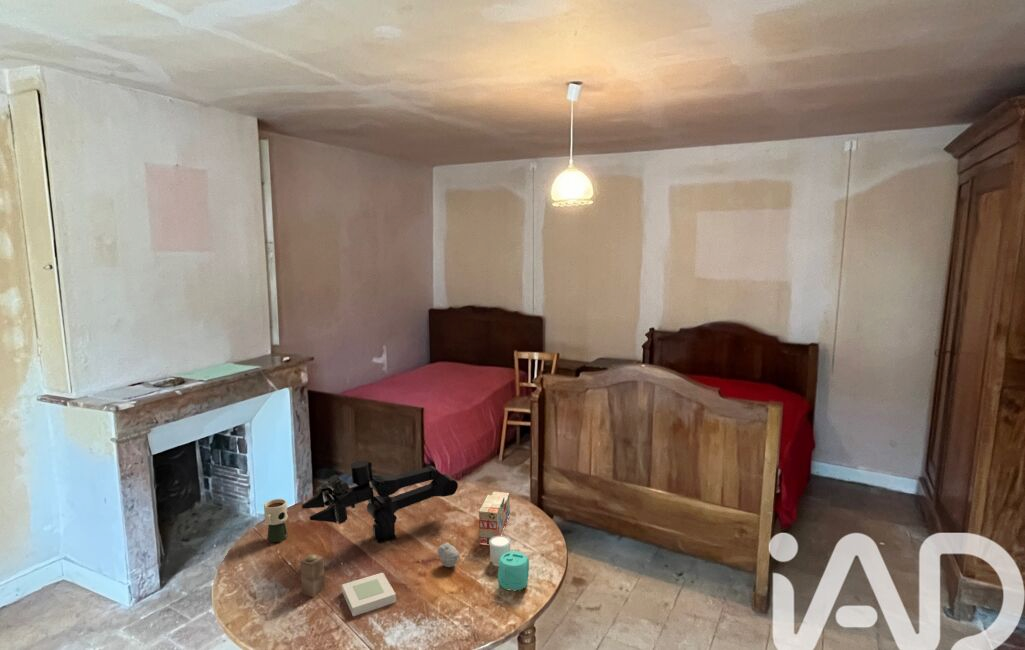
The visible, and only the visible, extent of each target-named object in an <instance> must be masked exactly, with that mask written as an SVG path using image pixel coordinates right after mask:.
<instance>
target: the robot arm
mask: <svg viewBox="0 0 1025 650" xmlns="http://www.w3.org/2000/svg"><path fill="white" fill-rule="evenodd" d="M372 466H373V464H372V462H371V461H370V460H367V461H366V460H355V461H354V462H352V463H350V464H349V469H350V470H349V471H350V475H351V482H352V483H353V484H355V485H354V486H351V487H349V484H348V482H347V481H346V480H341V478H340V477H339V476H338V475H337V474H334V475H333V476H331V477H330V478H329V479H327V482H328V483H329V484H330V485H328V484H327V483H325V484H322V485H320V486H319V488H318V492H317V493H316V495H314V496H313V497H311V499H309V500H307V501H306V502H304V503H303V504H301V507H302V509H304V510H305V509H319V508H321V509H322V508H324V509H323V510H321V511H317V512H316V513H314V514H311V515H310V516H309V521H316V522H329V523H334V524H338V525H341V524H344V523H346V522H347V520H348V514H347V512H348V511H347V508H349V507H350V509H355V508H356V505H359V504H361V503H363V502H366V501H367V502H368V503H367V506H366V510H367V512H368V514H369V515H370V516H371V517H372V518H373V524H372V536H373V538H374V539H375V540H376V542H377V543H378V544H381V543H384V542H388V541H391V540H395V539H397V535H396V532H395V531H396V529H395V523H396V522H397V516H396V514H395V513H396V512H397V511H398V510H401V509H404V508H407V507H409V506H413V505H415V504H417V503H420V502H423V501H425V500H429V499H431V498H434V497H438V498H439V497H440V498H441V497H443V498H445V497H449V496H453V495H455V494H456V492H457V490H458V487H459V486H458V485H459V484H458V482H457V480H455V479H454V478H453V477H451V476H450V475H448V474H446V473H441V472H440V471H439V469H437V468H436V467H434V466H433V465H428V466H426V467H423V468H419V469H415V470H410V471H407V472H404V473H399V474H391V473H384V474H378V475H375V474H373V469H372ZM428 481H430V483H428V484H425V485H422V486H419V487H416V488H414V489H412V490H408V491H405V492H403V493H400V494H396V493H397V492H398V491H399V490H401V489H403V488H406V487H410V486H414V485H417V484H420V483H421V484H422V483H425V482H428ZM330 486H331V487H330ZM374 492H375V493H376V494H377V495H375V493H374ZM393 494H396V495H394V496H392V495H393ZM325 507H326V508H325Z"/></svg>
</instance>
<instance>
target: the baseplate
mask: <svg viewBox="0 0 1025 650" xmlns="http://www.w3.org/2000/svg"><path fill="white" fill-rule="evenodd" d="M341 590H342V595H343V597H344V599H345V600H344V601H346V604H347V605H348V608H349V610H350V613H351V614H352V617H356V616H359V615H362V614H365V613H368V612H371V611H374V610H377V609H380V608H383V607H386V606H390V605H391V604H392V605H393V604H395V603H397V593H396V592H395V591H394V589H393V587H392V585H391V584H390V581H389V580H388V579H387V577H386V575H385V573H384V572H380V573H377V574H373V575H370V576H367V577H362V578H359V579H357V580H352V581H350V582H349V581H348V582H347V583H343V584H341Z"/></svg>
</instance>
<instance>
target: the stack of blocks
mask: <svg viewBox="0 0 1025 650" xmlns="http://www.w3.org/2000/svg"><path fill="white" fill-rule="evenodd" d="M510 503H511V501H510V492H504V491H503V492H501V491H493V492H492V493H491V494H487V496H486V498H485V500H484V502H483V503H482V505H481V507H480V508H479V510H478V529H479V530H478V531H479V533H478V541H479V542H478V544H479V543H487V544H489V540H490V539H491V538H492V537H495V536H501V534H502V532H503V533H504V531H503V528H504V526H505V523H506V522H507V519H508V516H509V514H510V515H511V513H510V509H511V508H510V507H511V505H510ZM508 520H509V519H508ZM507 523H508V522H507ZM505 527H506V526H505ZM502 535H503V534H502Z"/></svg>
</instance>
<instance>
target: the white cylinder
mask: <svg viewBox="0 0 1025 650" xmlns="http://www.w3.org/2000/svg"><path fill="white" fill-rule="evenodd" d="M511 541H512V540H511V538H510V537H508V536H505V535H502V536H495V537H492V538H491V539H490V540H489V545H490V546H489V551H490V552H489V553H490V562H491V561H492V563H494V564H497V565H499V561H500V557H501V556H502V555H503V554H505V553H507V552H511V545H512V543H511ZM492 563H491V564H492Z"/></svg>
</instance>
